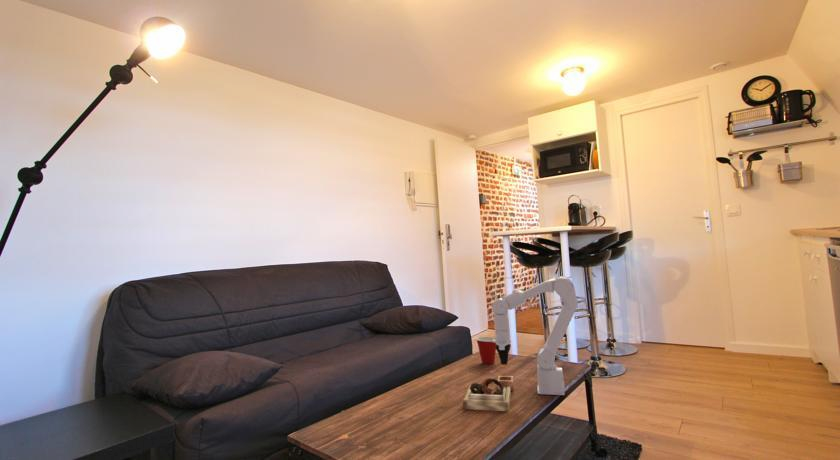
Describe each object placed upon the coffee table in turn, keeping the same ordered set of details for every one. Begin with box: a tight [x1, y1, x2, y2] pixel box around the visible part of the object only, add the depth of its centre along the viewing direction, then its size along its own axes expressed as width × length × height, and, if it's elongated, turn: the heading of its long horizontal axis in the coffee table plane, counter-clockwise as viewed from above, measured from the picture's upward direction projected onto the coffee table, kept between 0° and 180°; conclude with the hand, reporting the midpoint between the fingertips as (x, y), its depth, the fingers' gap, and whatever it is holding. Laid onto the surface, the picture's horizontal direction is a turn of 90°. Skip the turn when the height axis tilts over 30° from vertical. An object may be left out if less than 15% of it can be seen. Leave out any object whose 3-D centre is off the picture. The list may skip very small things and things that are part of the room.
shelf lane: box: [462, 384, 512, 412], centre depth 142 cm, size 15×16×3 cm
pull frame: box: [468, 375, 515, 401], centre depth 146 cm, size 15×23×4 cm, turn 164°
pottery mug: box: [469, 377, 503, 395], centre depth 143 cm, size 12×10×8 cm
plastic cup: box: [475, 336, 497, 366], centre depth 188 cm, size 11×11×12 cm
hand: (504, 363), depth 154 cm, fingers closed
